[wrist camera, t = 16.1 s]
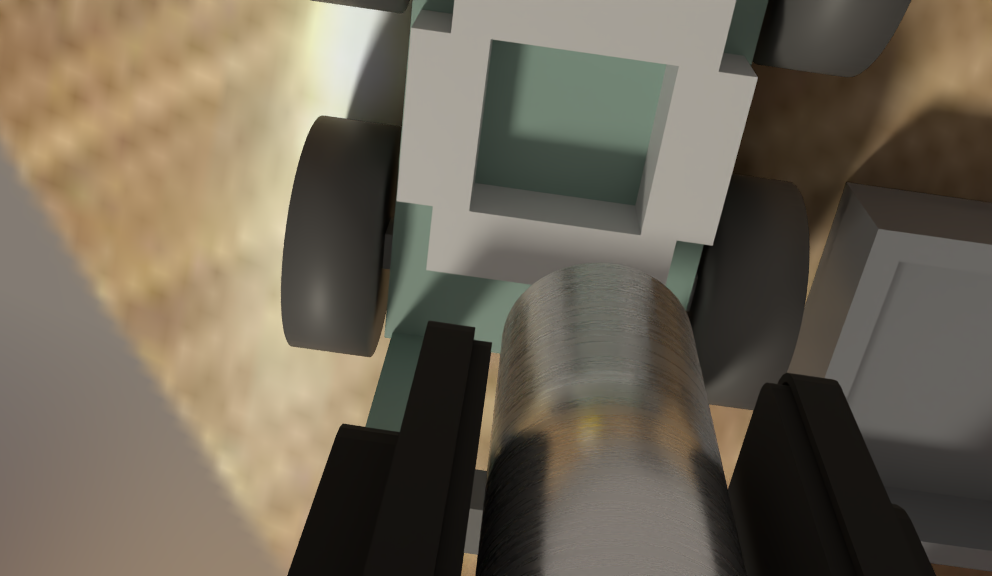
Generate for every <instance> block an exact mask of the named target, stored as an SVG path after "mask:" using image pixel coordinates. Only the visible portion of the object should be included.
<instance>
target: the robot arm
mask: <svg viewBox="0 0 992 576" xmlns="http://www.w3.org/2000/svg"><path fill="white" fill-rule="evenodd" d="M474 336H475V327H471V326H464V325H457V324H451V323H444V322H437V321H430V320H429V321H428V323H427V327H426V331H425V335H424V339H423V342H422V346H421V350H420V354H419V358H418V362H417V366H416V370H415V374H414V378H413V382H412V386H411V389H410V393H409V397H408V401H407V405H406V409H405V413H404V417H403V421H402V425H401V429H400V432H396V431H389V430H383V429H376V428H369V427H362V426H355V425H348V424H342V425H341V426H340V428H339V430H338V432H337V435H336V437H335V440H334V443H333V446H332V449H331V452H330V455H329V457H328V460H327V463H326V466H325V469H324V472H323V475H322V478H321V480H320V483H319V486H318V489H317V492H316V495H315V498H314V501H313V503H312V506H311V509H310V512H309V515H308V518H307V521H306V523H305V526H304V529H303V532H302V535H301V538H300V541H299V544H298V546H297V549H296V552H295V555H294V558H293V561H292V564H291V566H290V569H289V572H288V575H287V576H461V571H462V563H463V556H464V548H465V541H466V533H467V526H468V519H469V511H470V504H471V496H472V489H473V482H474V474H475V467H476V459H477V452H478V445H479V437H480V430H481V422H482V415H483V408H484V400H485V393H486V385H487V378H488V371H489V363H490V356H491V348H492V342H486V341H480V340H474ZM728 493H729V498H730V502H731V507H732V511H733V516H734V520H735V525H736V529H737V534H738V538H739V543H740V547H741V552H742V556H743V561H744V565H745V570H746V574H747V576H936V574H935V572H934V570H933V568H932V565H931V563H930V561H929V559H928V556H927V554H926V552H925V550H924V548H923V545H922V543H921V541H920V539H919V536H918V534H917V532H916V530H915V528H914V525H913V523H912V521H911V519H910V517H909V516H908V514H907V513H906V511H905V510H904V509H903V508H901V507H900V506H898V505H897V504H892V503H891V501H890V499H889V496H888V494H887V492H886V490H885V487H884V485H883V483H882V480H881V478H880V476H879V473H878V471H877V469H876V466H875V464H874V462H873V460H872V457H871V455H870V453H869V450H868V448H867V446H866V443H865V441H864V439H863V436H862V434H861V432H860V429H859V427H858V425H857V423H856V420H855V418H854V416H853V413H852V411H851V409H850V406H849V404H848V402H847V399H846V397H845V395H844V393H843V390H842V388H841V386H840V384H839V383H838V381H836V380H834V379H827V378H821V377H814V376H807V375H800V374H793V373H785V374H783V375H782V377H781V378H780V379H779V381H778V384H774V383H768V382H767V383H765V384H764V385H763V386H762V388H761V390H760V393H759V395H758V399H757V402H756V405H755V408H754V411H753V414H752V417H751V420H750V423H749V426H748V429H747V432H746V435H745V439H744V442H743V445H742V448H741V451H740V454H739V457H738V460H737V463H736V466H735V469H734V472H733V476H732V479H731V482H730V485H729V488H728Z"/></svg>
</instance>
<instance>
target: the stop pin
mask: <svg viewBox="0 0 992 576" xmlns="http://www.w3.org/2000/svg"><path fill="white" fill-rule="evenodd" d="M476 576H747V574H746V570H745V565H744V561H743V556H742V552H741V547H740V543H739V538H738V534H737V529H736V525H735V520H734V516H733V511H732V507H731V502H730V498H729V493H728V489H727V484H726V480H725V475H724V471H723V466H722V462H721V457H720V453H719V448H718V444H717V439H716V435H715V430H714V426H713V421H712V417H711V412H710V408H709V403H708V399H707V394H706V390H705V385H704V381H703V376H702V372H701V367H700V363H699V358H698V354H697V349H696V345H695V340H694V336H693V331H692V327H691V324H690V320H689V317H688V315H687V313H686V311H685V309H684V307H683V306H682V304H681V303H680V301H679V299H678V298H677V297H676V296H675V295H674V294H673V293H672V291H671V290H670V289H668V288H667V287H666V286H665V285H664V284H663V283H661V282H660V281H658V280H657V279H655V278H654V277H652V276H650V275H648V274H646V273H644V272H642V271H640V270H637V269H634V268H631V267H628V266H623V265H619V264H612V263H585V264H578V265H573V266H570V267H566V268H562V269H560V270H557V271H555V272H552V273H550V274H548V275H547V276H545V277H543V278H541V279H540V280H538V281H537V282H535V283H534V284H533V285H531V286H530V287H529V288H528V289H527V290H526V291H525V292H524V293H523V294H522V295H521V296H520V297H519V299H518V300H517V301H516V302H515V304H514V305H513V307H512V309H511V310H510V312H509V314H508V317H507V319H506V322H505V325H504V329H503V334H502V343H501V352H500V360H499V369H498V378H497V387H496V396H495V405H494V414H493V423H492V432H491V441H490V450H489V459H488V468H487V477H486V486H485V495H484V504H483V513H482V522H481V531H480V540H479V549H478V558H477V567H476Z"/></svg>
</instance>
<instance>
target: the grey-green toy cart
mask: <svg viewBox="0 0 992 576" xmlns="http://www.w3.org/2000/svg"><path fill="white" fill-rule="evenodd" d="M312 1H319V2H326V3H332V4H339V5H346V6H353V7H360V8H367V9H374V10H381V11H388V12H395V13H404V11H405V10H406V8H407V6H408V4H409V1H410V0H312ZM910 2H911V0H413V1H412V13H411V25H410V37H409V49H408V61H407V73H406V85H405V97H404V109H403V121H402V127H400V126H393V125H386V124H379V123H372V122H365V121H358V120H351V119H344V118H337V117H330V116H320V117H318V118H317V120H316V121H315V122H314V124H313V125H312V127H311V129H310V131H309V134H308V136H307V138H306V141H305V144H304V147H303V150H302V153H301V156H300V160H299V163H298V167H297V171H296V175H295V180H294V184H293V189H292V194H291V199H290V205H289V211H288V217H287V224H286V232H285V239H284V249H283V261H282V277H281V311H282V322H283V329H284V334H285V337H286V340H287V342H288V344H289V345H290V346H293V347H300V348H307V349H314V350H322V351H329V352H336V353H343V354H350V355H358V356H365V357H371V356H372V355H373V354H374V352H375V350H376V347H377V345H378V342H379V338H380V335H381V331H382V328H383V324H384V319H385V315H386V325H385V338H391V340H390V343H389V347H388V350H387V354H386V357H385V361H384V364H383V368H382V371H381V375H380V378H379V381H378V385H377V388H376V392H375V395H374V399H373V402H372V406H371V409H370V413H369V416H368V420H367V423H366V427H369V428H376V429H383V430H389V431H396V432H400V429H401V425H402V421H403V417H404V413H405V409H406V405H407V401H408V397H409V393H410V389H411V386H412V382H413V378H414V374H415V370H416V366H417V362H418V358H419V354H420V350H421V346H422V342H423V339H424V335H425V331H426V327H427V323H428V321H429V320H430V321H437V322H444V323H451V324H457V325H464V326H471V327H475V336H474V340H480V341H486V342H492V348H491V352H493V353H500V352H501V343H502V334H503V329H504V325H505V322H506V319H507V317H508V314H509V312H510V310H511V309H512V307H513V305H514V304H515V302H516V301H517V300H518V299H519V297H520V296H521V295H522V294H523V293H524V292H525V291H526V290H527V289H528V288H529V287H530V286H531V285H533V284H534V283H535V282H537V281H538V280H540V279H541V278H543V277H545V276H547V275H548V274H550V273H552V272H555V271H557V270H560V269H562V268H566V267H570V266H573V265H578V264H585V263H612V264H619V265H623V266H628V267H631V268H634V269H637V270H640V271H642V272H644V273H646V274H648V275H650V276H652V277H654V278H655V279H657V280H658V281H660V282H661V283H663V284H664V285H665V286H666V287H667V288H668V289H670V290H671V291H672V293H673V294H674V295H675V296H676V297H677V298H678V299H679V301H680V303H681V304H682V306H683V307H684V309H685V311H686V313H687V315H688V317H689V320H690V324H691V327H692V331H693V336H694V340H695V345H696V349H697V354H698V358H699V363H700V367H701V372H702V376H703V381H704V385H705V390H706V394H707V399H708V403H709V404H711V405H718V406H725V407H733V408H740V409H747V410H754V408H755V405H756V402H757V399H758V395H759V393H760V390H761V388H762V386H763V385H764V384H765V383H767V382H768V383H774V384H778V381H779V379H780V378H781V377H782V375H783V374H785V373H787V371H788V368H789V365H790V363H791V360H792V357H793V354H794V350H795V347H796V344H797V340H798V336H799V332H800V328H801V323H802V318H803V313H804V307H805V300H806V293H807V285H808V274H809V248H810V246H809V227H808V218H807V213H806V207H805V204H804V201H803V198H802V195H801V193H800V191H799V189H798V188H797V187H796V185H794V184H793V183H792V182H788V181H781V180H774V179H767V178H760V177H753V176H746V175H739V174H732V172H733V168H734V165H735V161H736V157H737V153H738V150H739V146H740V142H741V139H742V135H743V131H744V127H745V124H746V120H747V116H748V113H749V109H750V105H751V101H752V98H753V94H754V90H755V87H756V83H757V79H758V77H757V75H756V74H755V72H754V70H753V69H752V67H751V64H752V61H753V62H754V63H755V64H758V65H765V66H772V67H778V68H785V69H792V70H799V71H806V72H813V73H820V74H827V75H834V76H841V77H853V76H856V75H858V74H860V73H862V72H863V71H864V70H866V69H867V68H868V67H869V66H870V65H871V64H872V63H873V62H874V61H875V60H876V59H877V58H878V56H879V55H880V54H881V52H882V51H883V50H884V49H885V47H886V46H887V44H888V42H889V41H890V39H891V38H892V36H893V35H894V33H895V31H896V29H897V28H898V26H899V24H900V22H901V20H902V18H903V16H904V14H905V12H906V10H907V8H908V6H909V4H910ZM386 311H387V313H386ZM486 477H487V471H483V470H476V469H475V474H474V482H473V489H472V496H471V504H470V511H469V519H468V526H467V533H466V541H465V548H464V553H470V554H477V555H478V549H479V540H480V531H481V522H482V513H483V504H484V495H485V486H486Z"/></svg>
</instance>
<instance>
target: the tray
mask: <svg viewBox="0 0 992 576" xmlns="http://www.w3.org/2000/svg"><path fill="white" fill-rule="evenodd" d="M787 373H793V374H800V375H807V376H814V377H821V378H827V379H834V380H836V381H838V383H839V384H840V386H841V388H842V390H843V393H844V395H845V397H846V399H847V402H848V404H849V406H850V409H851V411H852V413H853V416H854V418H855V420H856V423H857V425H858V427H859V429H860V432H861V434H862V436H863V439H864V441H865V443H866V446H867V448H868V450H869V453H870V455H871V457H872V460H873V462H874V464H875V466H876V469H877V471H878V473H879V476H880V478H881V480H882V483H883V485H884V487H885V490H886V492H887V494H888V496H889V499H890V501H891V503H892V504H897V505H898V506H900V507H901V508H903V509H904V510H905V511H906V513H907V514H908V516H909V517H910V519H911V521H912V523H913V525H914V528H915V530H916V532H917V534H918V536H919V539H920V541H921V543H922V545H923V548H924V550H925V552H926V554H927V556H928V559H929V561H930V563H933V564H940V565H948V566H955V567H962V568H970V569H977V570H984V571H992V203H989V202H982V201H975V200H968V199H961V198H953V197H946V196H939V195H932V194H925V193H918V192H911V191H904V190H897V189H890V188H883V187H876V186H869V185H862V184H855V183H848V182H846V185H845V188H844V191H843V194H842V197H841V200H840V203H839V206H838V209H837V212H836V215H835V218H834V221H833V224H832V227H831V230H830V233H829V236H828V239H827V242H826V245H825V248H824V251H823V254H822V257H821V260H820V263H819V266H818V269H817V272H816V275H815V278H814V281H813V284H812V287H811V290H810V293H809V296H808V299H807V302H806V305H805V308H804V313H803V318H802V323H801V328H800V332H799V336H798V340H797V344H796V347H795V350H794V354H793V357H792V360H791V363H790V365H789V368H788V371H787Z"/></svg>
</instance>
